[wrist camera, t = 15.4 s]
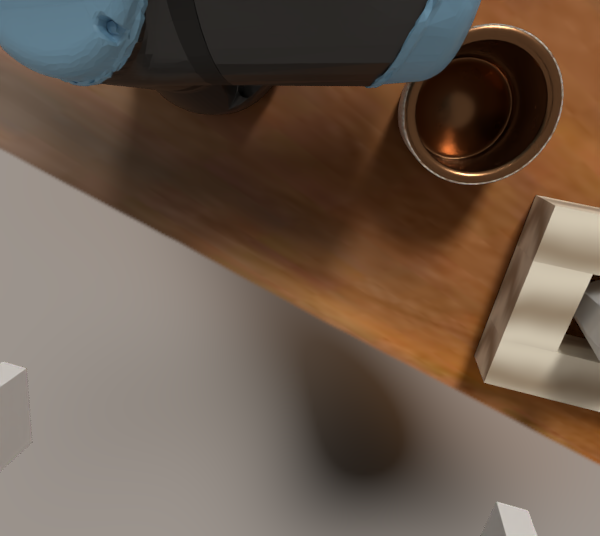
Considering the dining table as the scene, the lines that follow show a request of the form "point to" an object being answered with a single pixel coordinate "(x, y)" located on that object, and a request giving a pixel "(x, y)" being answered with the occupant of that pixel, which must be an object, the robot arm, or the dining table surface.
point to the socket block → (546, 308)
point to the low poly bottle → (590, 316)
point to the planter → (484, 107)
